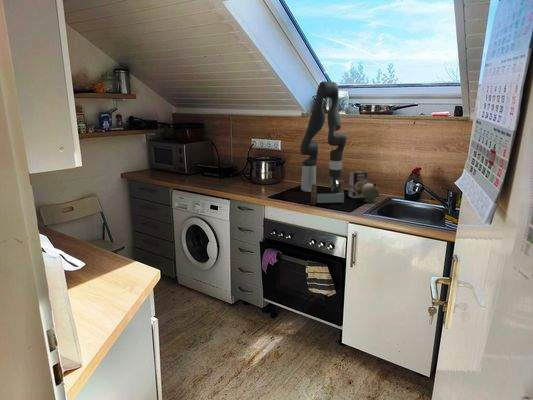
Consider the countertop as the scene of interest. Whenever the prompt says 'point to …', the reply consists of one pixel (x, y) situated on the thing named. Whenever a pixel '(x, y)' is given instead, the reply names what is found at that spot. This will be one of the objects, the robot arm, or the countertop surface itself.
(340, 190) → the gate frame
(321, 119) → the robot arm
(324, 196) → the gate
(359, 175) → the coffee box
